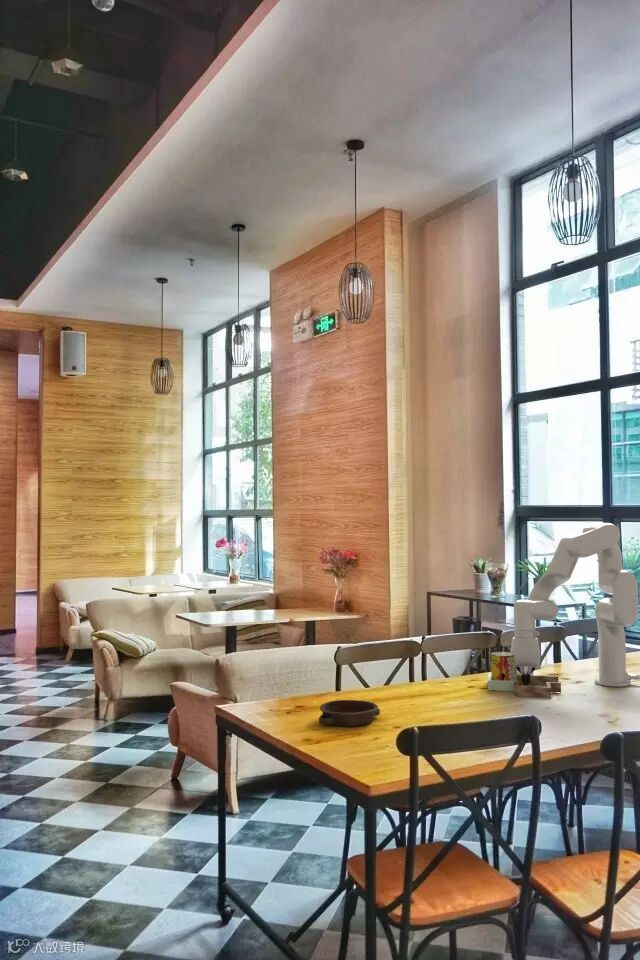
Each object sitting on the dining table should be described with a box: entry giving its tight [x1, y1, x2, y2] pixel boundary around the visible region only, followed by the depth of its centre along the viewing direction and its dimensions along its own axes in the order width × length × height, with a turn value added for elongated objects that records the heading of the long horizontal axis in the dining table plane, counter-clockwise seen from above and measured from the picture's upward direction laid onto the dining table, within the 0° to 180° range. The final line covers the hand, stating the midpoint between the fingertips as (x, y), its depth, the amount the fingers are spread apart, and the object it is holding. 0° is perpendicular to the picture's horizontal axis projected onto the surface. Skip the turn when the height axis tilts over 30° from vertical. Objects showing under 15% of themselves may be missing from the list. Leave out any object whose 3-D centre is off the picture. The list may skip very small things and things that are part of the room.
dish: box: [318, 699, 381, 728], centre depth 242 cm, size 18×22×5 cm
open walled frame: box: [491, 673, 562, 698], centre depth 285 cm, size 24×22×4 cm
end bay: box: [487, 672, 517, 692], centre depth 291 cm, size 10×14×4 cm
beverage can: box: [490, 651, 517, 681], centre depth 291 cm, size 9×9×12 cm
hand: (526, 685), depth 289 cm, fingers closed
